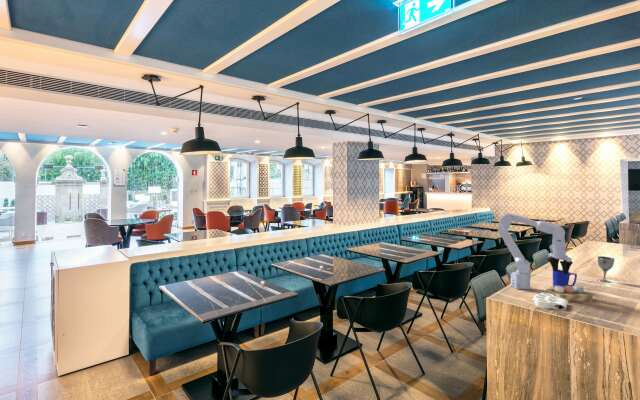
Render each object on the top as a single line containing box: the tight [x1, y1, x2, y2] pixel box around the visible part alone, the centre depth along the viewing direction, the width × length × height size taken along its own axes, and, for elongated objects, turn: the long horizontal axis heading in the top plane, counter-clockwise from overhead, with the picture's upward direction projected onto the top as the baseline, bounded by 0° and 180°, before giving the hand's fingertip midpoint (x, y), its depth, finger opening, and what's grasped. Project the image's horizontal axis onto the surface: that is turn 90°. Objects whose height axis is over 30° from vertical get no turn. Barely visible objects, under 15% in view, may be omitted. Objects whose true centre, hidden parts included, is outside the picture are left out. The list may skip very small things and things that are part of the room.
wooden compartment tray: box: [545, 288, 593, 303], centre depth 174 cm, size 17×10×3 cm, turn 90°
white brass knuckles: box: [530, 292, 569, 311], centre depth 164 cm, size 3×18×15 cm
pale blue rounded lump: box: [573, 285, 585, 294], centre depth 173 cm, size 4×4×3 cm
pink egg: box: [564, 286, 574, 294], centre depth 173 cm, size 4×4×3 cm
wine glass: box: [597, 255, 615, 284], centre depth 207 cm, size 8×8×15 cm
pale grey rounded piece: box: [553, 286, 564, 293], centre depth 173 cm, size 4×4×3 cm
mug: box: [552, 269, 578, 288], centre depth 189 cm, size 8×12×10 cm
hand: (560, 272), depth 180 cm, fingers open, 7 cm apart
